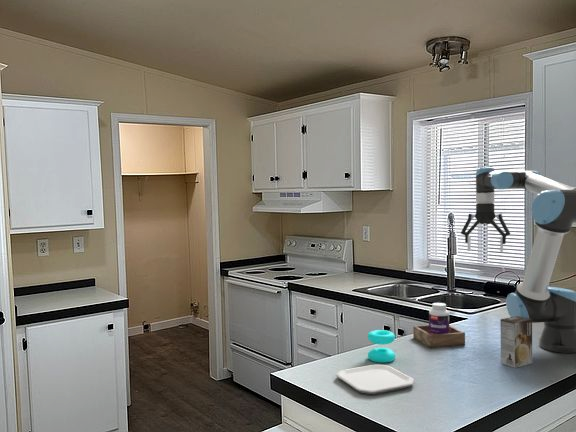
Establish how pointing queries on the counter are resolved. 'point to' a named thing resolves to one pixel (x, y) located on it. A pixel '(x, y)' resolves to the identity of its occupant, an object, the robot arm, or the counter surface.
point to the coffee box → (516, 341)
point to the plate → (375, 379)
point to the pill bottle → (438, 319)
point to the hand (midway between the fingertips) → (485, 251)
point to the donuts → (381, 353)
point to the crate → (439, 337)
